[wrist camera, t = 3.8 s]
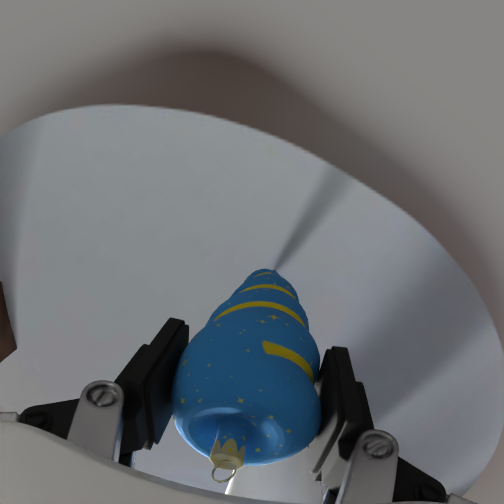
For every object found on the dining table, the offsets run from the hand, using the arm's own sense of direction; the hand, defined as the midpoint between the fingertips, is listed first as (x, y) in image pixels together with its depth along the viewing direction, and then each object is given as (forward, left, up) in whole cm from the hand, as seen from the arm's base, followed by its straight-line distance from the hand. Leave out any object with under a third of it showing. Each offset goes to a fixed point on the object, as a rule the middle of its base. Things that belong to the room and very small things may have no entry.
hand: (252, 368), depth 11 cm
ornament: (0, 0, -10) cm, 10 cm away
